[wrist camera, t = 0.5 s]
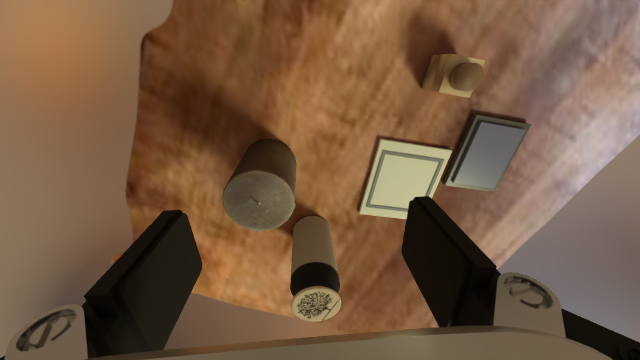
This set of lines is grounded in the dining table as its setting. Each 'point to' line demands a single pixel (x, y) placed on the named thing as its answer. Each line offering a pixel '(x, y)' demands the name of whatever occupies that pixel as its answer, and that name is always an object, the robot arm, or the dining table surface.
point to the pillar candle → (262, 187)
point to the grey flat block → (485, 152)
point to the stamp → (453, 74)
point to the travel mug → (314, 271)
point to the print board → (401, 177)
